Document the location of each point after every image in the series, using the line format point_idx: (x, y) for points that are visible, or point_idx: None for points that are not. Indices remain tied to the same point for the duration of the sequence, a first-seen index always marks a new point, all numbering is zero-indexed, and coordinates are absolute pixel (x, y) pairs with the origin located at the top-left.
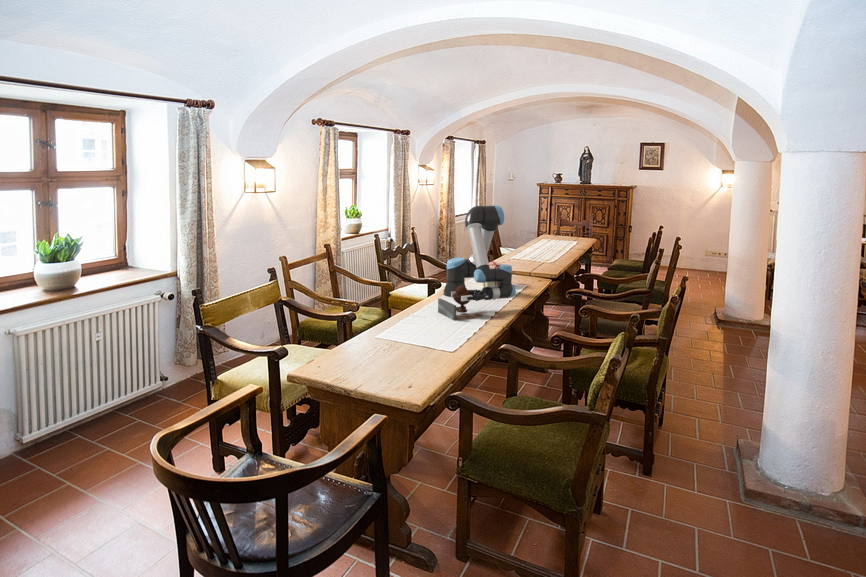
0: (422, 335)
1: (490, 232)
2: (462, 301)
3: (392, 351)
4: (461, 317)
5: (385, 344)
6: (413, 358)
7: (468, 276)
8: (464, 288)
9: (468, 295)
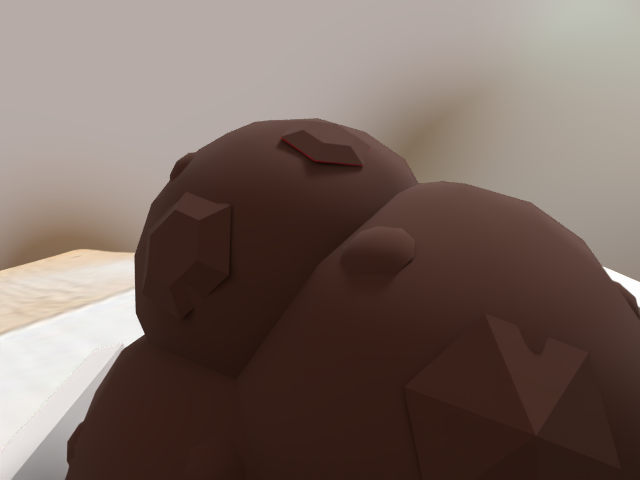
0: (49, 353)
1: None
2: None
3: (10, 307)
4: None
5: (82, 295)
6: None
7: None
8: (148, 213)
9: (24, 461)
